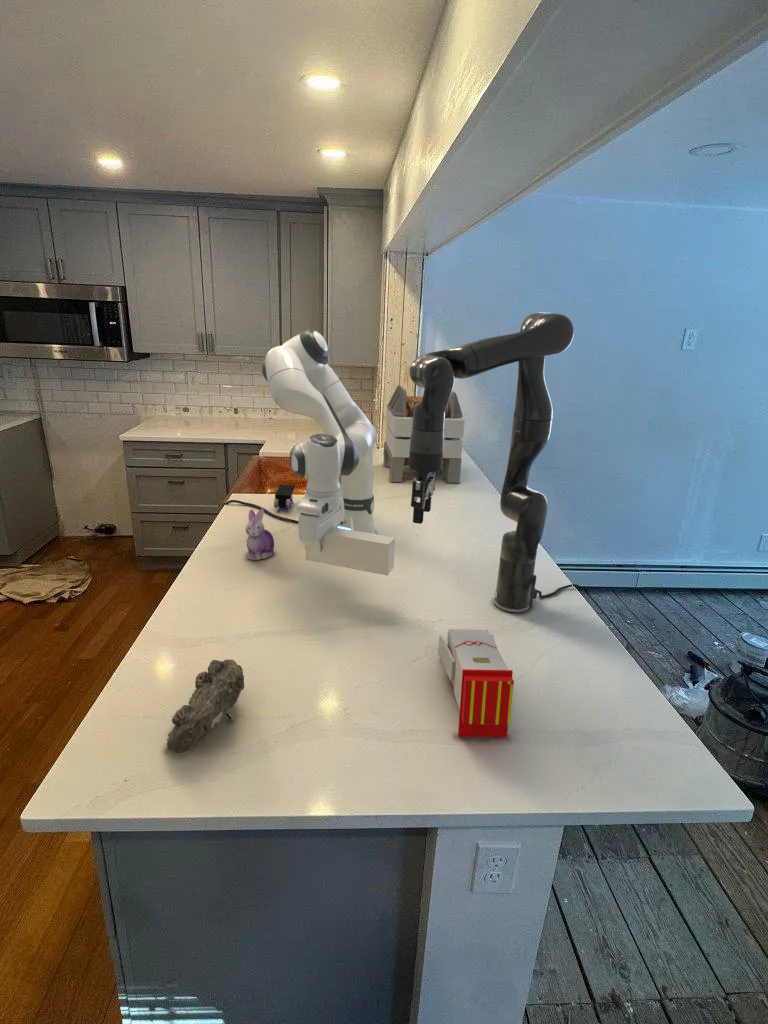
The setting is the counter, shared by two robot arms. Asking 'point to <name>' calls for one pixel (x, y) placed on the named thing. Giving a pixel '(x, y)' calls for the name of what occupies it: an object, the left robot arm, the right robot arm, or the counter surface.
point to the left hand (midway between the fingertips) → (323, 547)
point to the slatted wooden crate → (400, 433)
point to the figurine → (258, 537)
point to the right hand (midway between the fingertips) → (421, 516)
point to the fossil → (206, 705)
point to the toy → (478, 682)
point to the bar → (355, 551)
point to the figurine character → (284, 497)
